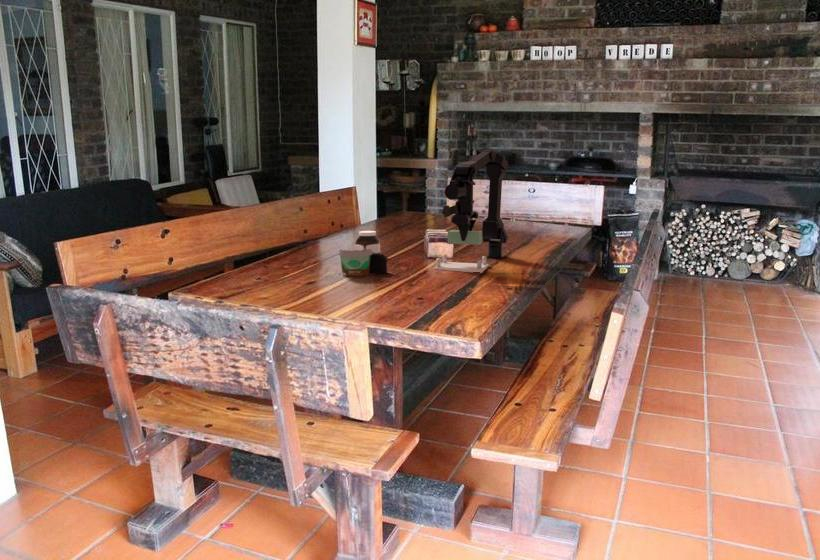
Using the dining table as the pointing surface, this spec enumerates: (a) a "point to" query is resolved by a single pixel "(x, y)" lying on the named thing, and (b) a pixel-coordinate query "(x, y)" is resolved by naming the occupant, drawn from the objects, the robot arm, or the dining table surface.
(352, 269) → the food container
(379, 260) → the film camera
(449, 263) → the plate
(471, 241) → the green board
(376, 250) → the spread jar
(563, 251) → the dining table surface
